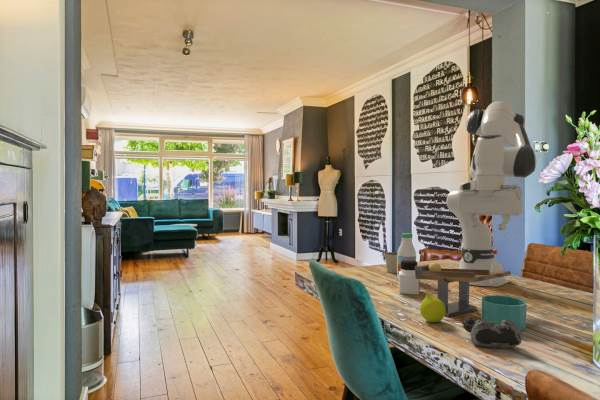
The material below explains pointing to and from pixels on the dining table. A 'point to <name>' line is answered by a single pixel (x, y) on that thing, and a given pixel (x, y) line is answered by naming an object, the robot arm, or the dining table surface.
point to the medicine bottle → (408, 278)
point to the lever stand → (456, 306)
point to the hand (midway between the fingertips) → (488, 228)
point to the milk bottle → (405, 251)
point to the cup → (504, 310)
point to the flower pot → (391, 261)
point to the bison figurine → (493, 333)
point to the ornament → (432, 308)
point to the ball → (434, 267)
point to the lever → (457, 274)
